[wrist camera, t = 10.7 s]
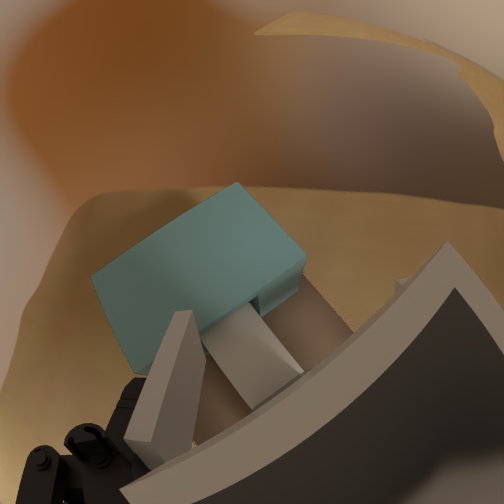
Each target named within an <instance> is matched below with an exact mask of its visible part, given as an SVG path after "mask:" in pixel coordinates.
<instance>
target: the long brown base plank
mask: <svg viewBox="0 0 504 504" xmlns="http://www.w3.org/2000/svg"><path fill="white" fill-rule="evenodd" d="M261 318H262V320H263V321H264V322H265V323H266V325H267V326H268V327H269V328H270V330H271V331H272V332H273V334H274V335H275V336H276V337H277V339H278V340H279V341H280V342H281V344H282V345H283V346H284V347H285V349H286V350H287V351H288V352H289V353H290V355H291V356H292V357H293V358H294V360H295V361H296V362H297V363H298V365H299V366H300V367H301V368H302V369H303V371H304V372H305V371H307V370H309V369H312V368H314V367H315V366H316V365H317V364H319V363H320V362H321V361H322V360H323V359H325V358H326V357H327V356H328V355H329V354H331V353H332V352H333V351H334V350H335V349H336V348H338V347H339V346H340V345H341V344H342V343H343V342H344V341H346V340H347V339H348V338H349V337H350V336H351V335H352V334H353V332H352V330H351V329H350V328H349V327H348V326H347V325H346V323H345V322H344V321H343V320H342V319H341V318H340V316H339V315H338V314H337V313H336V312H335V311H334V309H333V308H332V307H331V306H330V305H329V304H328V303H327V301H326V300H325V299H324V298H323V297H322V296H321V294H320V293H319V292H318V291H317V290H316V289H315V288H314V286H313V285H312V284H311V283H310V282H309V281H308V280H307V279H306V277H305V276H304V275H303V274H302V276H301V280H300V284H299V287H298V290H297V291H296V292H295V293H294V294H292V295H291V296H290V297H288V298H287V299H286V300H284V301H283V302H282V303H280V304H279V305H277V306H276V307H275V308H273V309H272V310H271V311H269V312H268V313H267V314H265V315H264V316H262V317H261ZM205 358H206V365H205V370H204V376H203V381H202V387H201V393H200V398H199V404H198V410H197V416H196V422H195V428H194V434H193V439H194V441H195V442H196V443H197V445H200V444H202V443H204V442H205V441H207V440H209V439H211V438H212V437H214V436H216V435H217V434H219V433H221V432H222V431H224V430H226V429H227V428H229V427H231V426H232V425H234V424H235V423H237V422H239V421H240V420H242V419H243V418H245V417H246V416H248V415H249V414H250V413H251V411H252V409H251V408H250V407H249V406H248V404H247V403H246V402H245V400H244V399H243V398H242V397H241V395H240V394H239V393H238V391H237V390H236V389H235V387H234V386H233V385H232V383H231V382H230V381H229V379H228V378H227V376H226V375H225V374H224V372H223V371H222V370H221V368H220V367H219V365H218V364H217V363H216V361H215V360H214V358H213V357H212V355H211V354H210V353H209V354H208V355H206V356H205Z"/></svg>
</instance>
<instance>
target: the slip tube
mask: <svg viewBox="0 0 504 504" xmlns="http://www.w3.org/2000/svg"><path fill="white" fill-rule="evenodd" d="M199 337H200V339H201V341H202V342H203V344H204V345H205V347H206V348H207V350H208V351H209V353H210V354H211V355H212V357H213V358H214V360H215V361H216V363H217V364H218V365H219V367H220V368H221V370H222V371H223V372H224V374H225V375H226V376H227V378H228V379H229V381H230V382H231V383H232V385H233V386H234V387H235V389H236V390H237V391H238V393H239V394H240V395H241V397H242V398H243V399H244V400H245V402H246V403H247V404H248V406H249V407H250V408H251V409H252V411H251V413H250V414H249V415H248V416H246V417H245V418H243V419H242V420H240V421H239V422H237V423H235V424H234V425H232V426H231V427H229V428H227V429H226V430H224V431H222V432H221V433H219V434H217V435H216V436H214V437H212V438H211V439H209V440H207V441H205V442H204V443H202V444H200V445H198V446H196V447H195V448H193V449H191V450H189V451H187V452H185V453H183V454H181V455H179V456H177V457H176V458H174V459H172V460H170V461H167V462H165V463H164V464H162V465H161V466H159V467H157V468H156V469H154V470H152V471H151V472H149V473H147V474H146V475H144V476H142V477H140V478H139V479H137V480H135V481H133V482H132V483H130V484H128V485H126V486H124V487H122V488H120V489H119V490H120V491H121V492H122V494H123V495H124V496H125V498H126V499H127V500H128V502H129V503H130V504H504V311H503V310H502V308H501V307H500V305H499V304H498V302H497V301H496V300H495V298H494V297H493V296H492V294H491V293H490V291H489V290H488V289H487V287H486V286H485V285H484V283H483V282H482V281H481V280H480V278H479V277H478V276H477V275H476V273H475V272H474V271H473V270H472V268H471V267H470V266H469V265H468V264H467V262H466V261H465V260H464V259H463V258H462V256H461V255H460V254H459V253H458V252H457V251H456V250H455V248H454V247H453V246H452V245H451V244H450V243H449V242H448V241H446V242H445V243H444V245H443V246H442V247H441V248H440V249H439V250H438V251H437V252H436V253H435V254H434V255H433V256H432V257H431V258H430V259H429V260H428V261H427V262H426V263H425V264H424V265H423V266H422V267H421V268H420V269H419V270H418V271H417V272H416V273H415V274H413V275H412V276H411V277H410V278H409V279H408V280H407V281H406V282H405V283H404V284H403V285H402V286H401V287H400V288H399V289H398V290H397V291H396V292H395V293H394V294H393V295H392V296H391V297H390V299H389V300H388V301H387V302H386V303H385V304H384V305H383V306H382V307H381V308H380V309H379V310H378V311H377V312H376V313H375V314H373V315H372V316H371V317H370V318H369V319H368V320H367V321H366V322H365V323H364V324H363V325H362V326H361V327H360V328H359V329H358V330H357V331H356V332H354V333H353V334H352V335H351V336H350V337H349V338H348V339H347V340H346V341H344V342H343V343H342V344H341V345H340V346H339V347H338V348H336V349H335V350H334V351H333V352H332V353H331V354H329V355H328V356H327V357H326V358H325V359H323V360H322V361H321V362H320V363H319V364H317V365H316V366H315V367H314V368H312V369H309V370H307V371H305V372H304V371H303V369H302V368H301V367H300V366H299V365H298V363H297V362H296V361H295V360H294V358H293V357H292V356H291V355H290V353H289V352H288V351H287V350H286V349H285V347H284V346H283V345H282V344H281V342H280V341H279V340H278V339H277V337H276V336H275V335H274V334H273V332H272V331H271V330H270V328H269V327H268V326H267V325H266V323H265V322H264V321H263V320H262V318H261V317H260V316H259V315H258V313H257V312H256V311H255V309H254V308H253V307H252V306H251V304H250V303H249V302H247V303H246V304H245V305H243V306H242V307H240V308H239V309H238V310H236V311H235V312H233V313H232V314H230V315H229V316H227V317H226V318H225V319H223V320H222V321H220V322H219V323H217V324H216V325H214V326H213V327H211V328H210V329H208V330H207V331H206V332H204V333H203V334H201V335H200V336H199Z"/></svg>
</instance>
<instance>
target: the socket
mask: <svg viewBox="0 0 504 504" xmlns="http://www.w3.org/2000/svg"><path fill="white" fill-rule="evenodd" d="M306 258H307V254H306V253H305V252H304V251H303V250H302V248H301V247H300V246H299V245H298V244H297V243H296V242H295V241H294V240H293V239H292V238H291V237H290V236H289V235H288V233H287V232H286V231H285V230H284V229H283V228H282V227H281V226H280V225H279V224H278V223H277V222H276V221H275V220H274V219H273V218H272V217H271V216H270V215H269V213H268V212H267V211H266V210H265V209H264V208H263V207H262V206H261V205H260V204H259V203H258V202H257V201H256V200H255V199H254V198H253V197H252V196H251V195H250V194H249V193H248V192H247V191H246V190H245V189H244V188H243V187H242V186H241V185H240V184H239V183H238V182H235V183H234V184H232V185H230V186H228V187H226V188H225V189H223V190H221V191H220V192H218V193H216V194H215V195H213V196H211V197H210V198H208V199H206V200H205V201H203V202H201V203H200V204H198V205H196V206H195V207H193V208H191V209H190V210H188V211H187V212H185V213H183V214H182V215H180V216H179V217H177V218H175V219H174V220H172V221H171V222H169V223H168V224H166V225H164V226H163V227H161V228H160V229H158V230H157V231H155V232H154V233H152V234H151V235H149V236H148V237H146V238H145V239H143V240H142V241H140V242H139V243H137V244H136V245H134V246H133V247H131V248H130V249H128V250H127V251H126V252H124V253H123V254H121V255H120V256H118V257H117V258H116V259H114V260H113V261H111V262H110V263H108V264H107V265H106V266H104V267H103V268H101V269H100V270H99V271H97V272H96V273H95V274H93V275H92V276H91V280H92V283H93V285H94V288H95V290H96V293H97V295H98V298H99V300H100V303H101V305H102V308H103V310H104V312H105V315H106V317H107V319H108V321H109V324H110V326H111V328H112V330H113V332H114V334H115V336H116V338H117V341H118V343H119V345H120V347H121V349H122V351H123V353H124V355H125V357H126V358H127V360H128V362H129V364H130V366H131V368H132V370H133V372H134V373H135V374H140V375H146V376H148V374H149V371H150V369H151V367H152V364H153V362H154V359H155V357H156V355H157V352H158V350H159V348H160V345H161V343H162V340H163V338H164V336H165V334H166V331H167V329H168V327H169V324H170V322H171V320H172V318H173V315H174V313H175V311H185V310H193V314H194V318H195V322H196V326H197V329H198V333H199V336H200V335H201V334H203V333H204V332H206V331H207V330H208V329H210V328H211V327H213V326H214V325H216V324H217V323H219V322H220V321H222V320H223V319H225V318H226V317H227V316H229V315H230V314H232V313H233V312H235V311H236V310H238V309H239V308H240V307H242V306H243V305H245V304H246V303H247V302H249V303H250V304H251V306H252V307H253V308H254V309H255V311H256V312H257V313H258V315H259V316H260V317H262V316H264V315H265V314H267V313H268V312H269V311H271V310H272V309H273V308H275V307H276V306H277V305H279V304H280V303H282V302H283V301H284V300H286V299H287V298H288V297H290V296H291V295H292V294H294V293H295V292H296V291H297V290H298V287H299V284H300V280H301V276H302V273H303V269H304V265H305V262H306ZM200 340H201V339H200ZM201 344H202V347H203V351H204V354H205V356H206V355H208V354H209V351H208V350H207V348H206V347H205V345H204V344H203V342H202V341H201Z"/></svg>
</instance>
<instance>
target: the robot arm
mask: <svg viewBox="0 0 504 504" xmlns="http://www.w3.org/2000/svg"><path fill="white" fill-rule="evenodd" d="M409 278H410V277H407V278H402V279H397V280H396V285H395V292H396V291H397V290H398V289H399V288H400V287H401V286H402V285H403V284H404V283H405V282H406V281H407V280H408V279H409ZM205 365H206V358H205V354H204V351H203V347H202V344H201V340H200V337H199V333H198V329H197V326H196V322H195V318H194V314H193V310H185V311H175V313H174V315H173V318H172V320H171V322H170V324H169V327H168V329H167V331H166V334H165V336H164V338H163V340H162V343H161V345H160V348H159V350H158V352H157V355H156V357H155V359H154V362H153V364H152V367H151V369H150V371H149V374H148V376H147V378H133V379H132V380H131V381H130V382H129V383H128V384H127V385H126V386H125V388H124V390H123V392H122V394H121V397H120V400H119V401H118V403H117V405H116V409H115V410H114V412H113V414H112V417H111V419H110V421H109V424H108V426H107V428H106V430H105V431H104V430H103V429H102V428H101V427H100V426H99V425H96V424H93V423H84V424H81V425H78V426H76V427H75V428H73V429H72V430H71V431H69V433H68V434H67V436H66V437H65V441H64V446H65V447H66V448H67V449H68V450H69V451H70V452H71V453H72V454H73V455H60V454H59V453H58V452H57V451H56V450H55V449H54V448H53V447H51V446H48V445H42V446H39V447H36V448H34V449H33V450H32V451H31V452H30V454H29V456H28V458H27V461H26V464H25V468H24V471H23V475H22V478H21V482H20V486H19V490H18V495H17V499H16V504H130V503H129V502H128V500H127V499H126V498H125V496H124V495H123V494H122V492H121V491H120V490H119V489H120V488H122V487H124V486H126V485H128V484H130V483H132V482H133V481H135V480H137V479H139V478H140V477H142V476H144V475H146V474H147V473H149V472H151V471H152V470H154V469H156V468H157V467H159V466H161V465H162V464H164V463H165V462H167V461H170V460H172V459H174V458H176V457H177V456H179V455H181V454H183V453H185V452H187V451H189V450H191V447H192V440H193V434H194V428H195V422H196V416H197V410H198V404H199V398H200V393H201V387H202V381H203V376H204V370H205ZM63 500H64V503H63Z"/></svg>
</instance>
